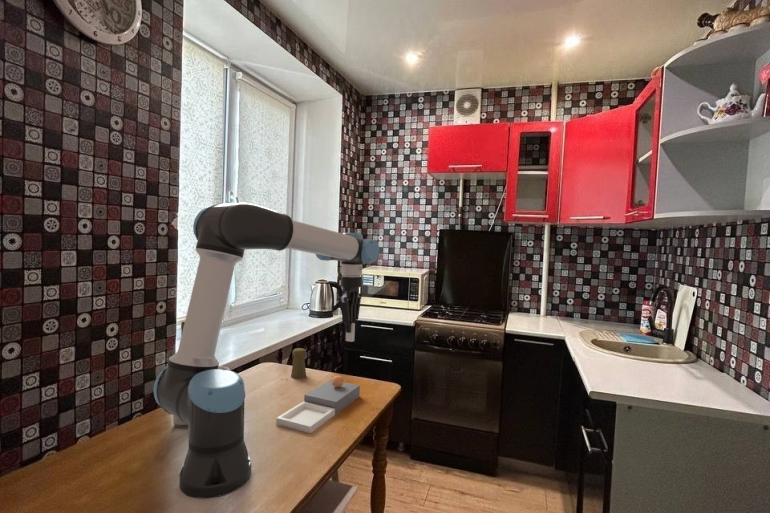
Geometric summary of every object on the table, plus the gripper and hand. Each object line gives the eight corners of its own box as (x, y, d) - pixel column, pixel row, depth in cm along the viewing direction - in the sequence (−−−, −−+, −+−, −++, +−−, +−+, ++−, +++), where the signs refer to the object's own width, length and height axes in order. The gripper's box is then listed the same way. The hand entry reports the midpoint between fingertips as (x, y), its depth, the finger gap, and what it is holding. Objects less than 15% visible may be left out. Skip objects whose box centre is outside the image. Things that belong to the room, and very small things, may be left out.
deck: (335, 414, 127) (336, 401, 126) (304, 406, 131) (304, 394, 131) (359, 396, 141) (359, 385, 141) (330, 390, 146) (330, 379, 146)
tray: (310, 433, 114) (310, 426, 114) (276, 424, 119) (276, 417, 119) (335, 414, 126) (335, 408, 126) (303, 407, 131) (303, 401, 131)
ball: (339, 390, 136) (340, 378, 136) (329, 387, 138) (329, 376, 138) (345, 386, 140) (345, 374, 140) (335, 384, 142) (335, 373, 141)
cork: (309, 375, 161) (310, 348, 161) (298, 379, 156) (299, 351, 155) (298, 372, 164) (299, 345, 164) (287, 376, 159) (288, 349, 159)
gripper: (352, 278, 137) (350, 346, 138) (369, 275, 149) (367, 338, 150) (333, 276, 140) (331, 343, 141) (351, 274, 152) (349, 335, 153)
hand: (350, 340), depth 146 cm, fingers closed
